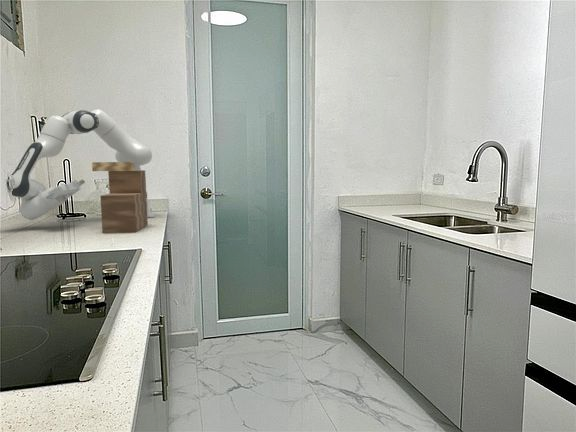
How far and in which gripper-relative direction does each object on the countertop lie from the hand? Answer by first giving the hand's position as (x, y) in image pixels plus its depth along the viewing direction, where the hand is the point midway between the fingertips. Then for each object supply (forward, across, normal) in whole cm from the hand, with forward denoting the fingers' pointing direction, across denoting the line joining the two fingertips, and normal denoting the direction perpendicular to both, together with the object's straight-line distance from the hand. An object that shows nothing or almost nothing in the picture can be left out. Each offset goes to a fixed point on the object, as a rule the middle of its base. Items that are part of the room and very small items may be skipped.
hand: (80, 181), depth 216 cm
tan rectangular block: (+15, 0, +4) cm, 16 cm away
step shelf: (+8, -7, +29) cm, 31 cm away
